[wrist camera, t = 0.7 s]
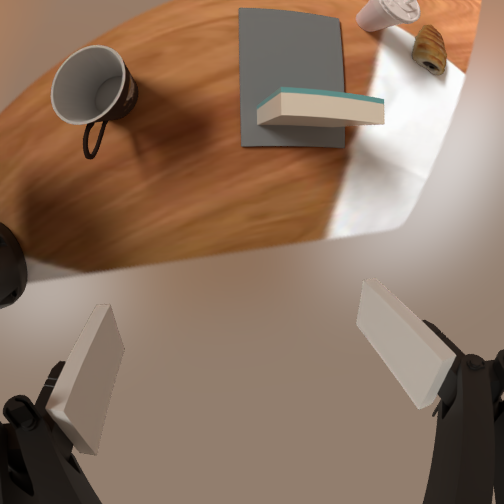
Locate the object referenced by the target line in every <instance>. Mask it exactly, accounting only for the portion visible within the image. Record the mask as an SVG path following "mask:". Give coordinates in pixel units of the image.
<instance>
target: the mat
mask: <svg viewBox="0 0 504 504" xmlns="http://www.w3.org/2000/svg"><path fill="white" fill-rule="evenodd" d="M239 64H240V115H241V146H311V147H334V148H345V126H344V127H332V128H331V127H317V126H296V125H257V105H259V104H260V103H261V102H262V101H264V100H265V99H266V98H267V97H269V96H270V95H271V94H272V93H274V92H275V91H276V90H277V89H279V88H280V87H292V88H306V89H317V90H327V91H335V92H343V93H344V76H343V59H342V46H341V34H340V24H339V19H338V18H333V17H328V16H322V15H316V14H310V13H302V12H295V11H286V10H275V9H260V8H239Z"/></svg>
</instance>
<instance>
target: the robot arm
mask: <svg viewBox="0 0 504 504" xmlns="http://www.w3.org/2000/svg"><path fill="white" fill-rule="evenodd" d="M26 282H27V269H26V263H25V259H24V256H23V253H22V250H21V248H20V246H19V244H18V242H17V240H16V238H15V237H14V235H13V234H12V233H11V232H10V230H9V229H8V228H7V227H5V226H4V225H3V224H1V223H0V309H2V308H4V307H7V306H9V305H11V304H13V303H14V302H15V301H16V300H17V299H18V298H19V297H20V296H21V295H22V293H23V292H24V290H25V287H26ZM356 325H357V326H358V327H359V329H360V330H361V331H362V333H363V334H364V335H365V337H366V338H367V339H368V341H369V342H370V343H371V345H372V346H373V347H374V348H375V350H376V351H377V353H378V354H379V355H380V357H381V358H382V359H383V361H384V362H385V363H386V365H387V366H388V368H389V369H390V370H391V371H392V373H393V374H394V376H395V377H396V379H397V380H398V381H399V383H400V384H401V386H402V387H403V388H404V390H405V391H406V393H407V394H408V395H409V397H410V398H411V400H412V401H413V403H414V404H415V405H416V407H417V408H418V410H419V409H422V408H424V407H426V406H428V405H430V404H432V403H433V401H434V399H435V397H436V396H437V394H438V395H439V397H440V398H441V400H440V402H439V404H438V405H437V407H436V409H435V410H434V412H433V415H432V416H433V417H434V416H435V414H436V413H437V411H438V416H437V417H438V419H437V428H436V437H435V444H434V451H433V458H432V463H431V469H430V474H429V480H428V484H427V489H426V493H425V497H424V501H423V504H492V496H493V485H494V492H495V500H496V504H504V400H503V401H502V399H501V395H502V394H503V392H504V350H500V351H499V352H498V354H497V357H496V358H495V360H490V361H484V360H483V358H481V357H479V356H477V355H474V354H468V355H465V354H464V353H463V352H461V350H460V349H459V348H458V347H457V346H456V345H455V344H454V343H453V342H451V341H450V340H449V339H448V338H446V336H445V335H444V334H443V333H441V331H440V330H439V329H438V328H437V327H436V326H435V325H434V324H432V323H430V322H428V321H426V320H423V321H421V320H420V319H419V318H418V317H417V316H416V315H415V314H414V313H413V312H412V311H411V310H410V309H409V308H407V306H406V305H405V304H403V303H402V302H401V301H400V300H399V299H398V298H397V297H396V296H395V295H394V294H393V293H392V292H390V291H389V290H388V289H387V288H386V287H385V286H384V285H383V284H381V282H379V281H378V280H377V279H376V278H374V279H366V280H363V285H362V291H361V298H360V305H359V310H358V316H357V321H356ZM123 353H124V346H123V343H122V340H121V337H120V334H119V331H118V328H117V325H116V322H115V318H114V315H113V312H112V308H111V305H110V304H106V305H96V307H95V308H94V310H93V312H92V314H91V316H90V318H89V319H88V321H87V323H86V325H85V326H84V328H83V330H82V332H81V334H80V336H79V338H78V340H77V342H76V343H75V345H74V347H73V349H72V351H71V353H70V355H69V357H68V359H67V361H66V362H65V361H60V362H58V364H56V365H55V366H54V367H53V368H52V370H51V372H50V374H49V376H48V379H47V380H46V382H45V384H44V387H43V388H42V390H41V392H40V394H39V397H38V399H37V401H36V403H35V405H33V403H32V402H31V400H30V399H29V398H28V397H27V396H25V395H17V396H14V397H12V398H10V399H9V400H8V401H7V402H6V403H5V405H4V408H3V415H4V416H5V417H6V419H7V420H8V421H9V423H7V424H2V423H1V422H0V504H102V503H101V501H100V500H99V498H98V497H97V495H96V493H95V492H94V490H93V489H92V487H91V485H90V484H89V482H88V480H87V478H86V477H85V475H84V473H83V471H82V469H81V468H80V466H79V464H78V462H77V460H76V458H75V456H74V455H73V454H72V453H71V452H72V448H73V445H74V447H76V449H77V450H78V451H79V452H80V453H84V454H90V455H97V453H98V448H99V443H100V439H101V435H102V430H103V426H104V421H105V418H106V413H107V409H108V405H109V402H110V398H111V394H112V390H113V387H114V383H115V379H116V376H117V372H118V369H119V365H120V363H121V359H122V356H123Z"/></svg>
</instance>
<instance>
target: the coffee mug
mask: <svg viewBox="0 0 504 504" xmlns="http://www.w3.org/2000/svg"><path fill="white" fill-rule="evenodd" d="M137 99H138V87H137V84H136V82H135V81H134V79H133V77H132V75H131V74H130V72H129V70H128V68H127V67H126V65H125V63H124V61H123V60H122V58H121V57H120V55H119V54H118V53H117V52H116V51H115V50H114V49H112V48H110V47H107V46H103V45H92V46H88V47H85V48H82V49H80V50H78V51H77V52H75V53H74V54H72V55H71V56H70V57H69V58H67V59H66V60H65V62H64V63H63V64H62V65H61V66H60V68H59V70H58V71H57V73H56V75H55V78H54V80H53V83H52V88H51V102H52V106H53V109H54V111H55V112H56V114H57V115H58V116H59V117H60V118H61V119H62V120H63V121H65V122H67V123H70V124H73V125H83V124H87V126H86V129H85V133H84V137H83V151H84V155H85V157H86V158H87V159H93V158H94V157H95V156H96V154H97V152H98V149H99V147H100V144H101V140H102V137H103V134H104V130H105V127H106V124H107V123H108V121H109V120H115V119H119V118H122V117H124V116H126V115H127V114H128V113H129V112H130V111H131V110H132V109H133V108H134V106H135V104H136V102H137ZM101 121H103V123H102V127H101V130H100V133H99V136H98V140H97V143H96V146H95V148H94V150H93V152H92V154H90V153H89V149H88V137H89V132H90V129H91V128H92V127H93V125H94V123H95V122H101Z"/></svg>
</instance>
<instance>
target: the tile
mask: <svg viewBox="0 0 504 504" xmlns="http://www.w3.org/2000/svg"><path fill="white" fill-rule="evenodd" d="M380 124H384V99H380V98H375V97H369V96H363V95H357V94H350V93H343V92H335V91H327V90H317V89H306V88H292V87H280V88H279V89H277V90H276V91H275V92H274V93H272V94H271V95H270V96H269V97H267V98H266V99H265V100H264V101H262V102H261V103H260V104H259V105H257V125H296V126H317V127H331V128H332V127H344V126H359V125H380Z"/></svg>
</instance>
